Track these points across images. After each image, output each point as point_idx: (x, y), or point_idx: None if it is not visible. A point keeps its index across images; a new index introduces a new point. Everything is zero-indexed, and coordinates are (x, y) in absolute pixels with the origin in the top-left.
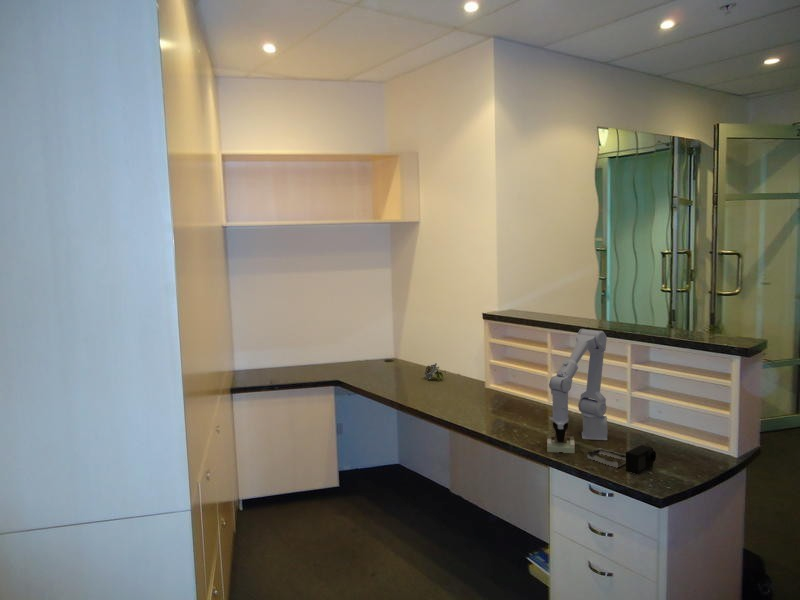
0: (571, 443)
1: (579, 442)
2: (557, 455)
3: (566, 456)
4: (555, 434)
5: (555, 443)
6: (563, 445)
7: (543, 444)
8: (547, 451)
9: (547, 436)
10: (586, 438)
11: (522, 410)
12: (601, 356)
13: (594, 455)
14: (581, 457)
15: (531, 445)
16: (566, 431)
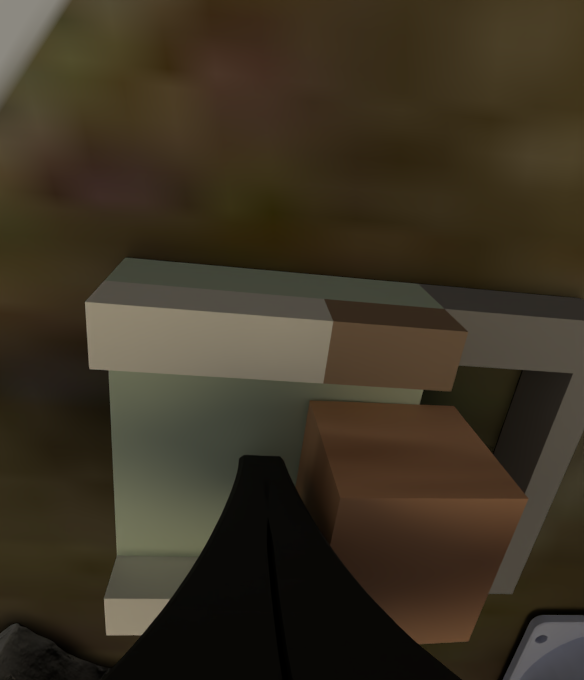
0: (144, 609)
1: None
2: (17, 374)
3: (14, 464)
4: (332, 496)
5: (273, 406)
6: (199, 492)
7: (428, 228)
8: (123, 261)
9: (454, 331)
10: (525, 646)
11: None
12: None
13: (99, 671)
14: (29, 583)
15: (394, 17)
16: (453, 641)
